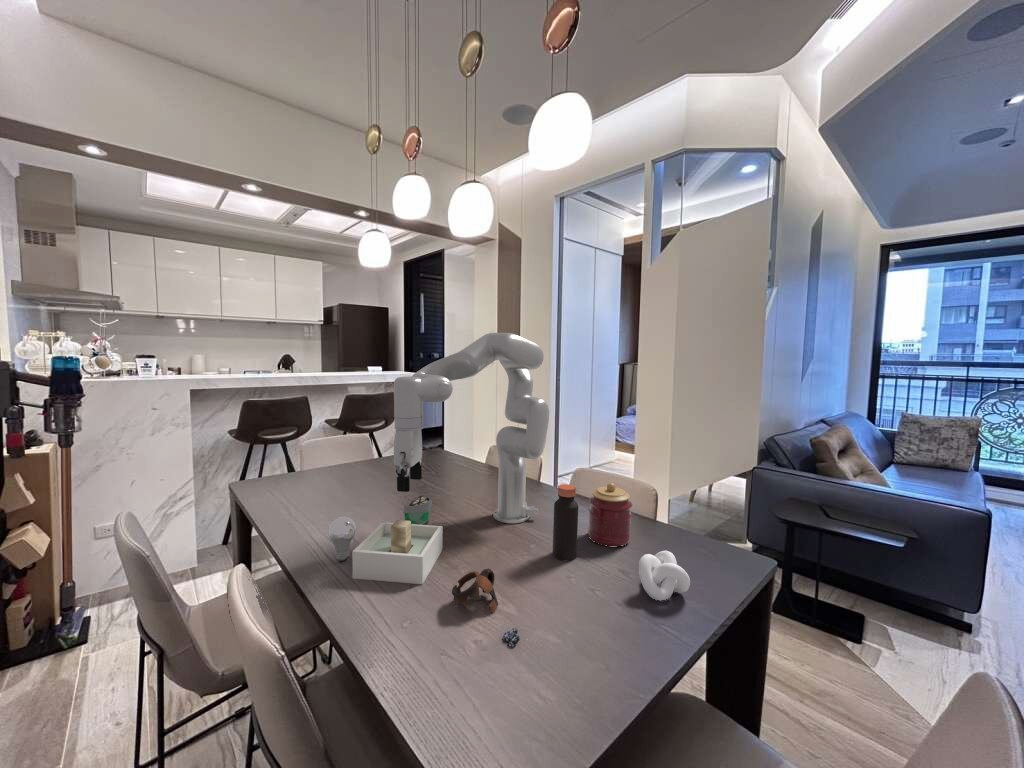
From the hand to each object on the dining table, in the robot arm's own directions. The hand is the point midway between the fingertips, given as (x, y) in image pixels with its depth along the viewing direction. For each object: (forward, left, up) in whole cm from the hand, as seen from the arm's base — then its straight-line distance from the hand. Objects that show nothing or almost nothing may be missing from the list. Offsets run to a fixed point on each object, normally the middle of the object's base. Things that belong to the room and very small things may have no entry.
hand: (409, 484), depth 113 cm
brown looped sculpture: (-22, +17, -21) cm, 35 cm away
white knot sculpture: (-65, +6, -21) cm, 69 cm away
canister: (-56, -21, -21) cm, 64 cm away
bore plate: (+2, +3, -21) cm, 21 cm away
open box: (+2, +3, -21) cm, 21 cm away
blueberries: (-32, +28, -21) cm, 48 cm away
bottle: (-42, -8, -21) cm, 48 cm away
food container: (+3, -17, -21) cm, 27 cm away
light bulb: (+18, +4, -21) cm, 28 cm away
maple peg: (+1, +3, -20) cm, 20 cm away
